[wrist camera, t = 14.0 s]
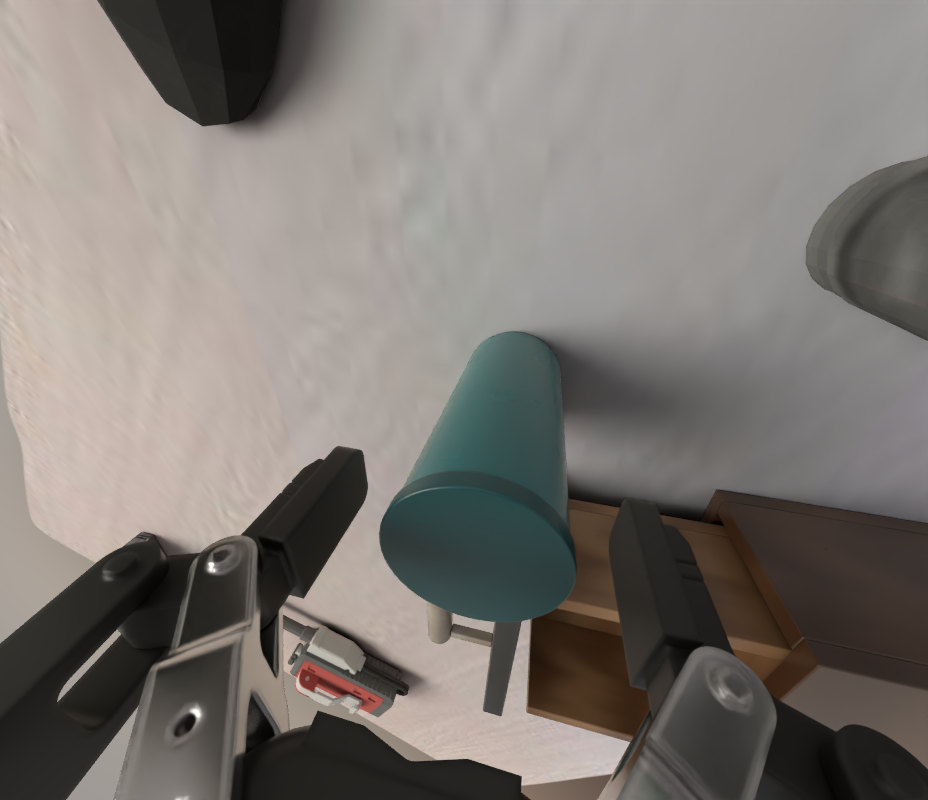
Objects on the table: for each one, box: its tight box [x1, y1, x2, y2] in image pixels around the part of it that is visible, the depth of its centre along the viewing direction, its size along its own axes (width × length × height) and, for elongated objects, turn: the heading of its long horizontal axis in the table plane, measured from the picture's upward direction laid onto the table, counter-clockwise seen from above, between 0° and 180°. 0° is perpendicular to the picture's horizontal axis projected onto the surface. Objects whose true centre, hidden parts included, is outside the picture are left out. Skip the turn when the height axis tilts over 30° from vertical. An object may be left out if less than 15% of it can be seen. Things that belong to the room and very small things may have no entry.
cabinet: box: [700, 490, 928, 769], centre depth 18 cm, size 16×15×9 cm
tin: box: [379, 332, 577, 622], centre depth 14 cm, size 5×5×12 cm
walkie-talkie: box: [283, 615, 409, 717], centre depth 38 cm, size 9×4×20 cm
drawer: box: [427, 499, 793, 742], centre depth 20 cm, size 19×14×7 cm
